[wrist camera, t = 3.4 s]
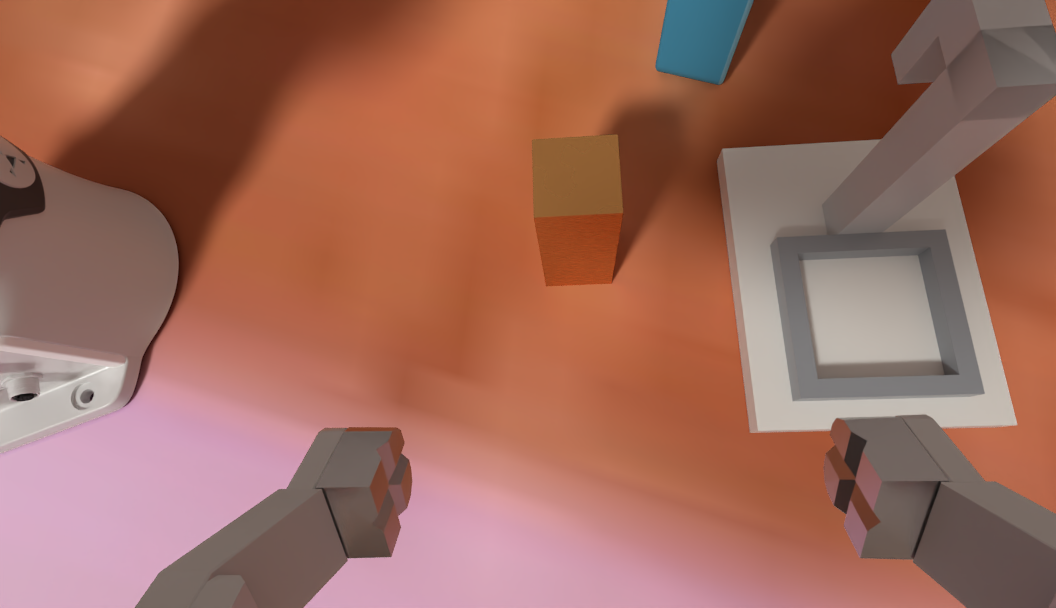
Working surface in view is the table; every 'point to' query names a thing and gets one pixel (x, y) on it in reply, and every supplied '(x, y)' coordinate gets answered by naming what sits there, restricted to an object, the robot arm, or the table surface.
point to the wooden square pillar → (577, 207)
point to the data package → (701, 37)
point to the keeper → (884, 238)
